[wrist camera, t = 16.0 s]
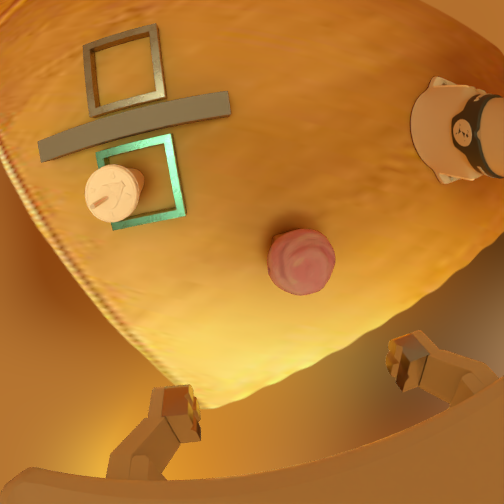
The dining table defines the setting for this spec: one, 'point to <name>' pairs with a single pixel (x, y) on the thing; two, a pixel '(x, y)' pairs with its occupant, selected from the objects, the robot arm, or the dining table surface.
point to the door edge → (135, 123)
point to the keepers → (159, 94)
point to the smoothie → (113, 192)
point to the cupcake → (300, 261)
